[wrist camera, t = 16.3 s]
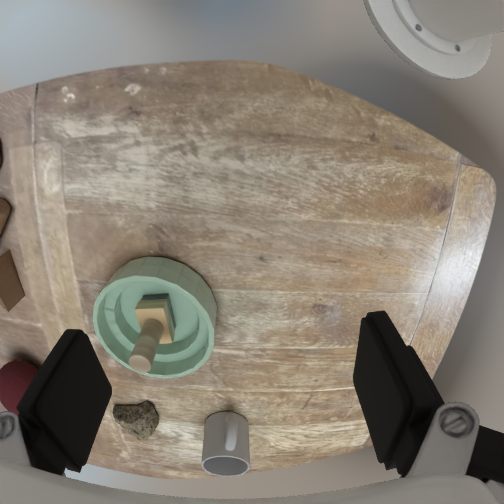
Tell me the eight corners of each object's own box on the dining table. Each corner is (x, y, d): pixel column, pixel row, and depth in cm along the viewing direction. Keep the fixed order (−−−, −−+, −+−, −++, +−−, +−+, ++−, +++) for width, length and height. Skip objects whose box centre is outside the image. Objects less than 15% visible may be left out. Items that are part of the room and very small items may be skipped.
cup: (202, 431, 49) (199, 473, 41) (210, 396, 45) (206, 443, 37) (243, 436, 50) (244, 478, 41) (256, 402, 46) (259, 448, 38)
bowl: (143, 230, 35) (128, 249, 30) (240, 301, 39) (240, 328, 34) (92, 309, 39) (76, 333, 34) (177, 366, 43) (171, 394, 37)
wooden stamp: (142, 293, 37) (116, 345, 28) (169, 292, 37) (149, 345, 28) (151, 327, 39) (131, 381, 30) (177, 326, 39) (162, 382, 30)
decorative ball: (33, 345, 41) (5, 384, 32) (66, 388, 45) (46, 430, 36) (3, 352, 42) (-23, 387, 33) (34, 392, 46) (13, 428, 37)
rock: (170, 425, 48) (166, 445, 44) (133, 428, 49) (128, 447, 45) (151, 399, 45) (145, 420, 41) (112, 403, 46) (105, 423, 42)
